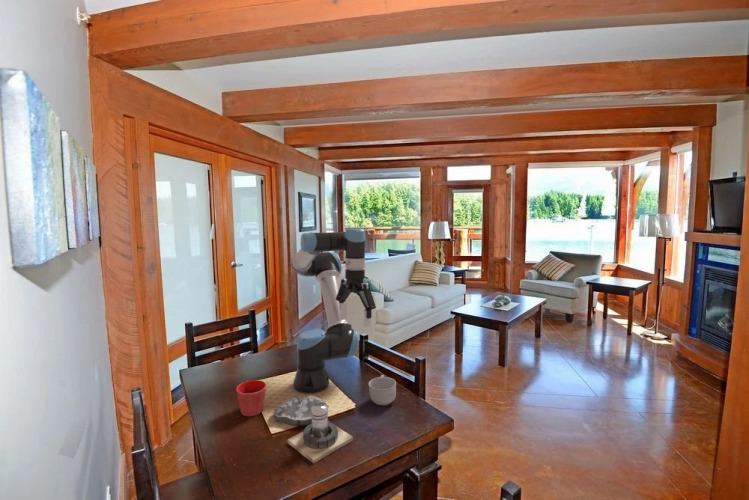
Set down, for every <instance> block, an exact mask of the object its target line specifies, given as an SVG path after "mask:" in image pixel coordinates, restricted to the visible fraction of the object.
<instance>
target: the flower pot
mask: <svg viewBox="0 0 749 500" xmlns="http://www.w3.org/2000/svg"><path fill="white" fill-rule="evenodd" d="M266 391H267V383H266V382H265V381H263V380H260V379H253V380H251V379H250V380H247V381H246V380H245V381H244V382H241V383H240V384H238V385H237V386H236V395H237V400H238V401H237V402H238V405H239V409H240V413H241V415H242V416H244V417H245V416H246V417H253V416H257V415H259V414H260V413H262V411H263V409H264V402H265V397H266Z"/></svg>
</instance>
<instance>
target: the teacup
mask: <svg viewBox="0 0 749 500" xmlns="http://www.w3.org/2000/svg"><path fill="white" fill-rule="evenodd" d="M368 390H369V397H370V399H371V401H372V402H373V403H375V405H379V406H388V405H390V404H391V403H392V402H394V401H395V399H396V395H397V382H396V380H395V379H394V378H391V377H387V376H385V375H383V374H381V375H380V376H377V377H375V378H374V377H373V378H372V379H371V380H369V382H368Z"/></svg>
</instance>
